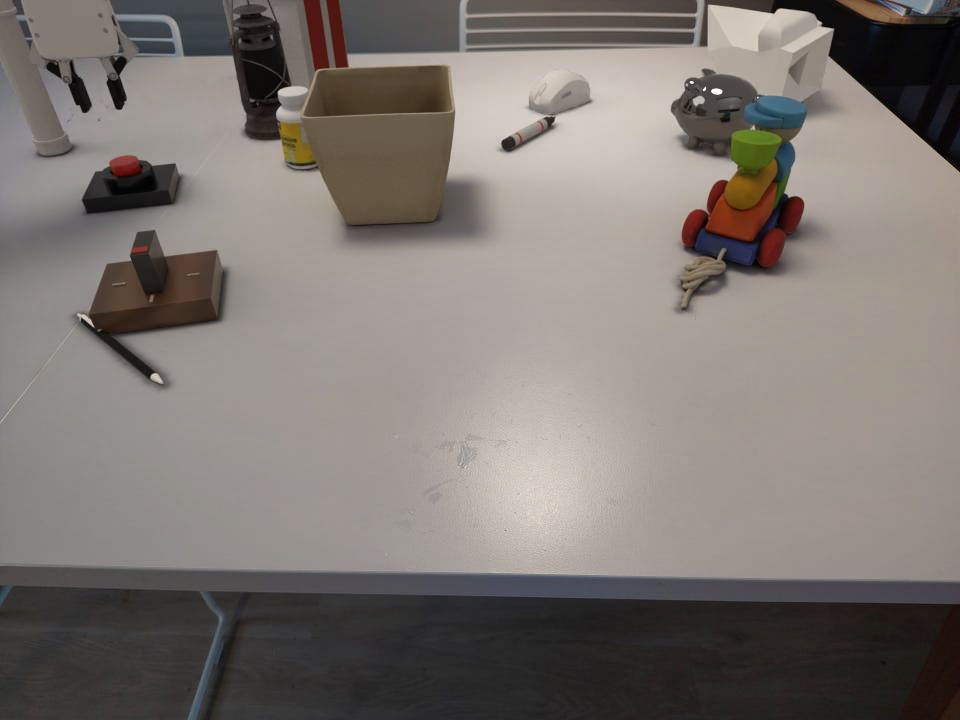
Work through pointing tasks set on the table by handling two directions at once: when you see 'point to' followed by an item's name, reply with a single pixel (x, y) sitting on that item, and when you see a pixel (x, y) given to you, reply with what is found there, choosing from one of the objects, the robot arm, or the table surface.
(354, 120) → the flower pot
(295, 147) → the pill bottle
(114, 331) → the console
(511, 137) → the marker
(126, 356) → the pen
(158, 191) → the black button base
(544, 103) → the computer mouse
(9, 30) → the pipe
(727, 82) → the piggy bank
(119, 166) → the button
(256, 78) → the lantern
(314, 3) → the red white striped box
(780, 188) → the toy train
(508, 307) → the table surface
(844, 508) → the table surface
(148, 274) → the dial knob
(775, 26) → the white angular block
